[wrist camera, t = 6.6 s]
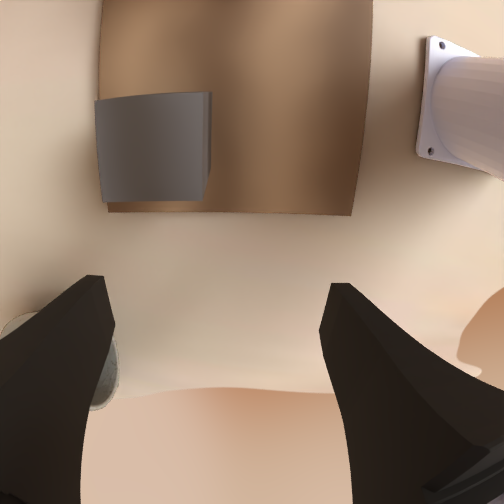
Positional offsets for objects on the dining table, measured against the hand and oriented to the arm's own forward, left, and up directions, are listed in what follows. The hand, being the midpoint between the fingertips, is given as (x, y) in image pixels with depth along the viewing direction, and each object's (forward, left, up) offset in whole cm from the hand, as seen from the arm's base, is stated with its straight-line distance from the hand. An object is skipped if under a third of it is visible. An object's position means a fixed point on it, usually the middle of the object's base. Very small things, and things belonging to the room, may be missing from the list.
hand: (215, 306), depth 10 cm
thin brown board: (0, -11, -9) cm, 14 cm away
